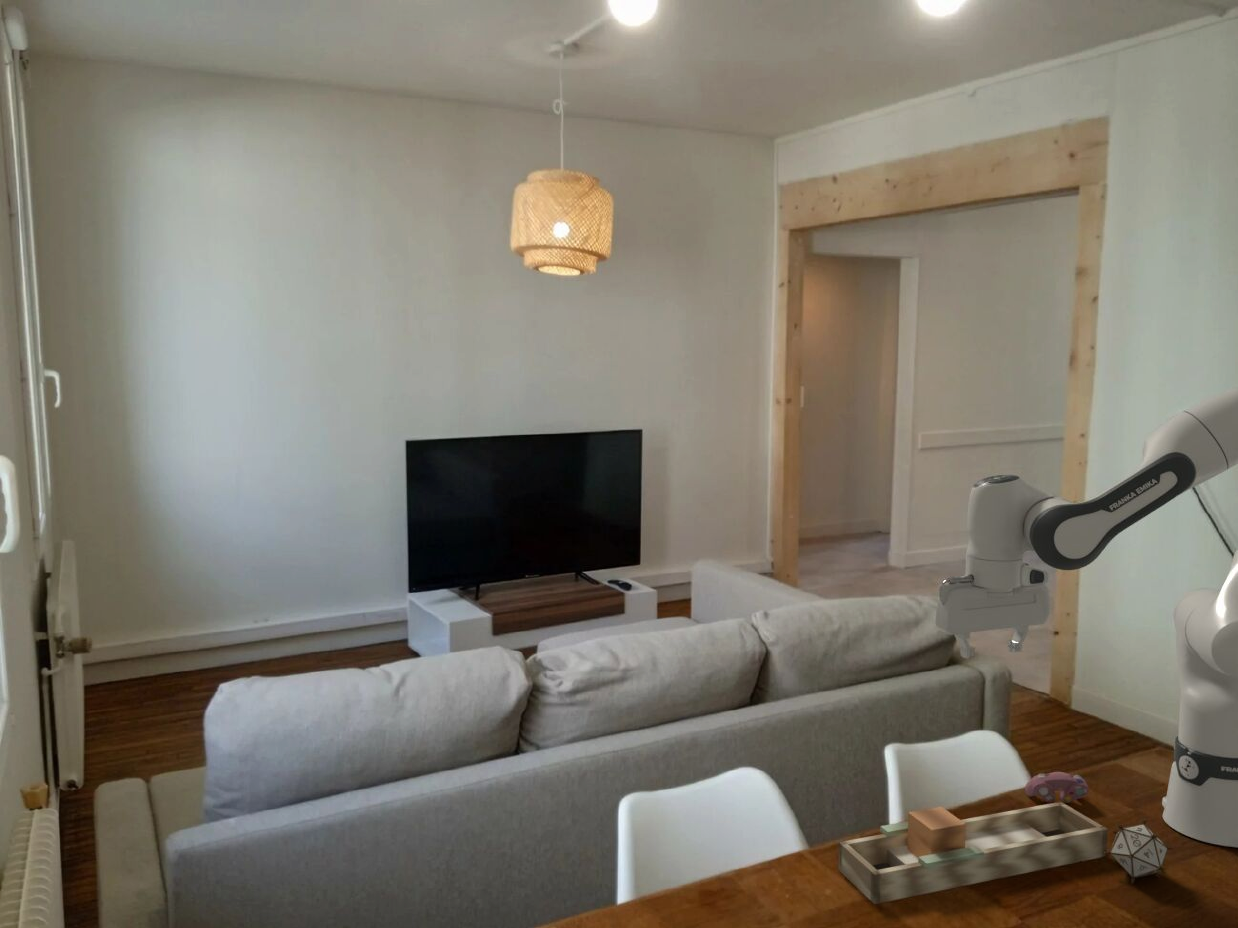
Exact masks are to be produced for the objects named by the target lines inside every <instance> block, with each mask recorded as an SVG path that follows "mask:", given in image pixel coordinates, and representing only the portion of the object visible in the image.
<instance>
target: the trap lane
mask: <svg viewBox="0 0 1238 928" xmlns="http://www.w3.org/2000/svg"><path fill="white" fill-rule="evenodd" d="M960 820H961V821H962V822H964V823H965V824H966V834H965V848H962V849H957V850H952V851H946V852H941V853H936V854H931V855H926V856H920V857H916V856H915V855H914V854H913V853H911V852H910V851H909V850H908V849H907V844H908V820H906V821H902V822H896V823H891V824H885V825H880V828H879V829H880V830H879V832H881V834H876V835H872V836H865V837H859V838H853V839H848V840H844V841H838V862H837V864H838V871H839V873H841V874H842V875H843V876H844V877H845V878H846V879H847V880H849V882H850V883H852V885H854V886H855V887H856V888H857V889H858V890H859V891H860V893H862V894H863V895H864V896H865V897H866V898H867V899H868V900H870V902H871V903H872V904H873V905H877V904H882V903H886V902H892V901H896V900H901V899H906V898H910V897H917V896H922V895H925V894H930V893H935V892H941V891H945V890H949V889H955V888H960V887H964V886H970V885H974V884H978V883H983V882H989V881H992V880H997V879H999V880H1000V879H1003V878H1008V877H1012V876H1017V875H1018V876H1019V875H1022V874H1027V873H1031V872H1032V873H1033V872H1037V871H1042V870H1048V869H1050V868H1056V867H1060V866H1061V867H1062V866H1066V865H1070V864H1075V863H1080V861H1081V862H1085V861H1090V860H1093V859H1094V860H1095V859H1100V858H1104V857H1107V855H1105V854H1103V853H1104V852H1105V851H1106V852H1107V851H1108V850H1107V849H1108V832H1109V831H1108V828H1107V827H1105V826H1103V825H1101V824H1100V823H1098V822H1097V821H1094V820H1093V819H1091V818H1089V817H1088V816H1086V815H1084V814H1083V813H1081V812H1080V811H1077V810H1076V809H1074V808H1073V807H1071V806H1069V805H1067V804H1066V803H1064V802H1062V801H1058V802H1053V803H1052V802H1050V803H1047V804H1040V805H1035V806H1031V807H1025V808H1019V809H1014V810H1009V811H1002V812H998V813H991V814H986V815H980V816H974V817H970V818H965V819H960Z"/></svg>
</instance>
